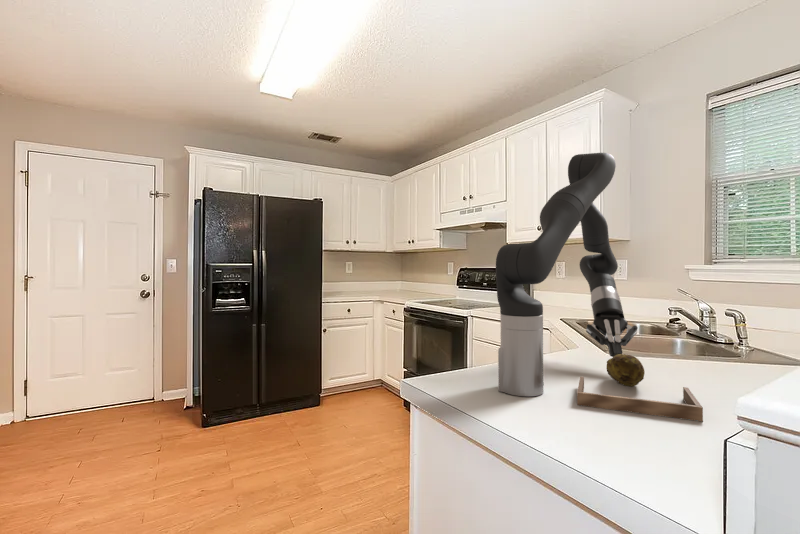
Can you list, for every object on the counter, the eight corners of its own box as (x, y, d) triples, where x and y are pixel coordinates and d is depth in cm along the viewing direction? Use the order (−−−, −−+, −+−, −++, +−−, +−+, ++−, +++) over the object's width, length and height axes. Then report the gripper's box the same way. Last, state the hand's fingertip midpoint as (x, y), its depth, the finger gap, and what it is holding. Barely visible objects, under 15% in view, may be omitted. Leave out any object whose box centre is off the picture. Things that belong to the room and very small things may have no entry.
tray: (577, 405, 82) (577, 392, 82) (580, 387, 94) (580, 376, 94) (702, 421, 72) (702, 407, 72) (688, 399, 85) (687, 387, 85)
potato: (646, 382, 98) (646, 349, 98) (643, 396, 87) (643, 359, 87) (608, 377, 102) (607, 346, 102) (600, 390, 91) (600, 354, 92)
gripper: (582, 296, 115) (590, 347, 103) (634, 297, 111) (649, 350, 99) (579, 313, 120) (587, 363, 108) (629, 314, 116) (642, 366, 104)
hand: (616, 357), depth 104 cm, fingers closed
